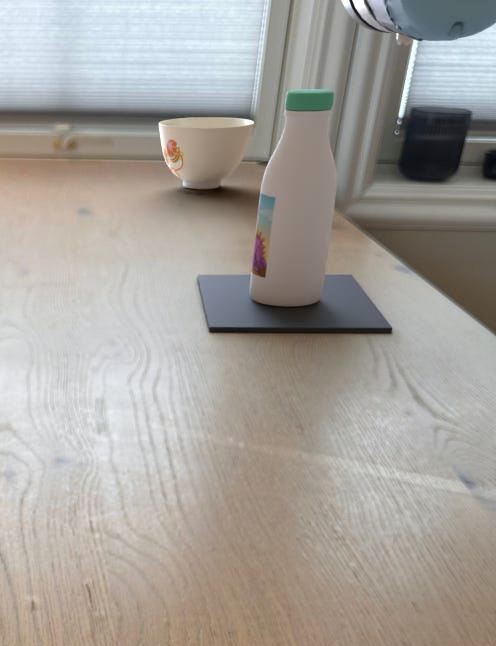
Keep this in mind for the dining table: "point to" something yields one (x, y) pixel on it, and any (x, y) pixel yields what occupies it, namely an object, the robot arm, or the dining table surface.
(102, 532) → the dining table surface
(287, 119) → the milk bottle
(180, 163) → the bowl
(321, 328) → the placemat
